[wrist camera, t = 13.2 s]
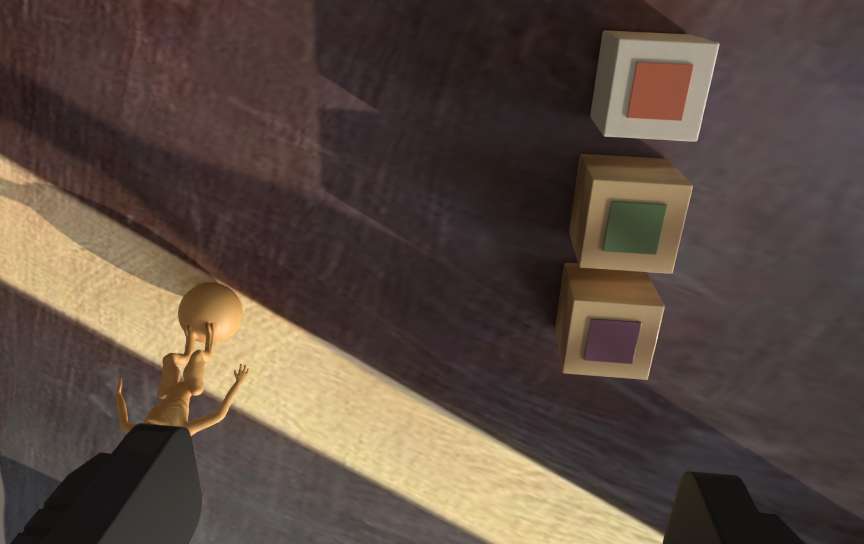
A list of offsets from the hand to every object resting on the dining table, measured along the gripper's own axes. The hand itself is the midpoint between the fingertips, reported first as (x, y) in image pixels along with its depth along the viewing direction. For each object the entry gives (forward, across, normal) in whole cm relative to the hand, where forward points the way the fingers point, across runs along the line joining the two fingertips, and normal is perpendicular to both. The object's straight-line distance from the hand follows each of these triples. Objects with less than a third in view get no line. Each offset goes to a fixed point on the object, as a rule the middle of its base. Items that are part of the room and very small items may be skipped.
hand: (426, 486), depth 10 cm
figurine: (+28, +16, +14) cm, 35 cm away
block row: (+28, -9, +1) cm, 29 cm away
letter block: (+28, -9, -3) cm, 30 cm away
